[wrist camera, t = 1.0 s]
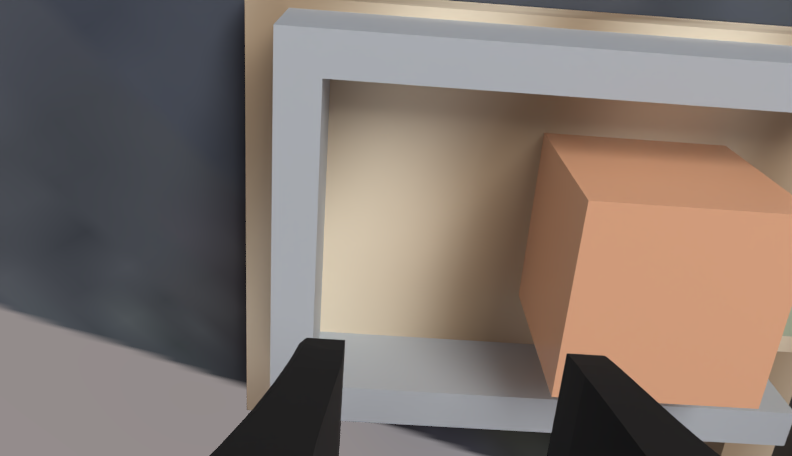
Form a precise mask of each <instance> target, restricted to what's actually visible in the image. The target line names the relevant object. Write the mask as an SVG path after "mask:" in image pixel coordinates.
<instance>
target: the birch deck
mask: <svg viewBox="0 0 792 456" xmlns="http://www.w3.org/2000/svg"><path fill="white" fill-rule="evenodd" d="M288 8H300V9H313V10H326V11H340V12H353V13H366V14H379V15H392V16H406V17H419V18H432V19H445V20H458V21H472V22H485V23H498V24H511V25H524V26H538V27H551V28H564V29H577V30H590V31H604V32H617V33H630V34H643V35H656V36H670V37H683V38H696V39H709V40H722V41H736V42H749V43H762V44H775V45H788V46H792V27H787V26H774V25H761V24H748V23H734V22H721V21H708V20H695V19H682V18H669V17H656V16H643V15H630V14H617V13H604V12H591V11H578V10H565V9H552V8H539V7H526V6H513V5H500V4H487V3H474V2H461V1H448V0H245V141H246V336H247V410H252V409H253V408H254V407H255V406H256V404H257V403H258V402H259V401H260V399H261V398H262V397H263V396H264V394H265V393H266V392H267V391H268V389H269V388H270V326H271V222H272V117H273V24H274V23H275V22H276V21H277V20H278V19H279V18H280V17H281V16H282V15H283V14H284V13H285V11H286V10H287V9H288ZM544 133H553V134H568V135H582V136H596V137H610V138H624V139H638V140H652V141H667V142H681V143H695V144H709V145H723V146H727V147H728V148H729V149H731V150H732V151H733V152H735V153H736V154H737V155H739V156H740V157H741V158H743V159H744V160H746V161H747V162H748V163H750V164H751V165H752V166H754V167H755V168H756V169H758V170H759V171H760V172H762V173H763V174H764V175H766V176H767V177H768V178H770V179H771V180H773V181H774V182H775V183H777V184H778V185H779V186H781V187H782V188H783V189H785V190H786V191H787V192H789V193H790V194H791V195H792V113H790V112H776V111H762V110H748V109H734V108H721V107H707V106H693V105H679V104H666V103H652V102H638V101H624V100H610V99H597V98H583V97H569V96H555V95H541V94H528V93H514V92H500V91H486V90H472V89H459V88H445V87H431V86H417V85H403V84H390V83H376V82H362V81H348V80H335V79H330V97H329V122H328V147H327V171H326V196H325V221H324V246H323V271H322V296H321V321H320V332H337V333H353V334H370V335H386V336H403V337H420V338H436V339H453V340H469V341H486V342H502V343H519V344H534V341H533V338H532V335H531V332H530V329H529V326H528V323H527V320H526V317H525V314H524V310H523V307H522V304H521V301H520V298H519V289H520V283H521V277H522V270H523V264H524V258H525V251H526V245H527V239H528V232H529V226H530V220H531V213H532V207H533V201H534V194H535V188H536V182H537V175H538V169H539V163H540V156H541V150H542V144H543V137H544ZM768 379H769V381H770V382H771V383H772V384H773V386H774V387H775V388H776V390H777V391H778V392H779V393H780V395H781V396H782V397H783V398H784V400H785V401H786V402H787V404H788V405H789V406H790V407H791V409H792V307H791V310H790V313H789V317H788V320H787V323H786V326H785V329H784V332H783V335H782V338H781V341H780V344H779V347H778V351H777V354H776V357H775V360H774V363H773V366H772V369H771V372H770V375H769V378H768ZM703 442H704V443H705V444H707V445H708V446H709V447H710V448H711V449H713V450H714V451H715V452H716V453H718V454H719V455H720V456H792V425H791V428H790V431H789V434H788V436H787V439H786V442H785V445H784V446H777V445H759V444H742V443H724V442H706V441H703Z"/></svg>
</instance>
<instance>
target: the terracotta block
mask: <svg viewBox="0 0 792 456" xmlns="http://www.w3.org/2000/svg"><path fill="white" fill-rule="evenodd" d="M519 298H520V301H521V304H522V307H523V310H524V314H525V317H526V320H527V323H528V326H529V329H530V332H531V335H532V338H533V341H534V345H535V348H536V351H537V354H538V357H539V360H540V363H541V366H542V369H543V373H544V376H545V379H546V382H547V385H548V388H549V391H550V394H551V397H558V396H559V391H560V386H561V381H562V376H563V370H564V365H565V360H566V355H567V353H569V354H586V355H603V356H606V357H607V358H609V359H610V360H611V361H612V362H613V363H615V364H616V365H617V366H618V367H619V368H620V369H622V370H623V371H624V372H625V373H626V374H627V375H628V376H629V377H630V378H632V379H633V380H634V381H635V382H636V383H637V384H638V385H639V386H640V387H641V388H643V389H644V390H645V391H646V392H647V393H648V394H649V395H650V396H651V397H652V398H654V399H655V400H656V401H657V402H658V403H664V404H681V405H699V406H716V407H733V408H750V409H759V406H760V403H761V400H762V397H763V394H764V391H765V388H766V384H767V381H768V378H769V375H770V372H771V369H772V366H773V363H774V360H775V357H776V354H777V351H778V347H779V344H780V341H781V338H782V335H783V332H784V329H785V326H786V323H787V320H788V317H789V313H790V310H791V307H792V195H791V194H790V193H789V192H787V191H786V190H785V189H783V188H782V187H781V186H779V185H778V184H777V183H775V182H774V181H773V180H771V179H770V178H768V177H767V176H766V175H764V174H763V173H762V172H760V171H759V170H758V169H756V168H755V167H754V166H752V165H751V164H750V163H748V162H747V161H746V160H744V159H743V158H741V157H740V156H739V155H737V154H736V153H735V152H733V151H732V150H731V149H729V148H728V147H727V146H723V145H709V144H695V143H681V142H667V141H652V140H638V139H624V138H610V137H596V136H582V135H568V134H553V133H544V137H543V144H542V150H541V156H540V163H539V169H538V175H537V182H536V188H535V194H534V201H533V207H532V213H531V220H530V226H529V232H528V239H527V245H526V251H525V258H524V264H523V270H522V277H521V283H520V289H519Z"/></svg>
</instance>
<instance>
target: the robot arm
mask: <svg viewBox="0 0 792 456" xmlns="http://www.w3.org/2000/svg"><path fill="white" fill-rule="evenodd" d="M344 354H345V340H336V339H320V338H306V339H304V340H303V341H302V342H300V343H299V345H298V347H297V348H296V350H295V352H294V354H293V355H292V357H291V359H290V360H289V362H288V363H287V365H286V366H285V368H284V369H283V371H282V372H281V373H280V375H279V376H278V377H277V379H276V380H275V382H274V383H273V384H272V386H271V387H270V388H269V389H268V391H267V392H266V393H265V394H264V396H263V397H262V398H261V399H260V401H259V402H258V403H257V404H256V406H255V407H254V408H253V409H252V411H251V412H250V413H249V414H248V415H247V417H246V418H245V419H244V420H243V421H242V422H241V423H240V424H239V425H238V426H237V427H236V429H235V430H234V431H233V432H232V433H231V434H230V435H229V436H228V437H227V438H226V439H225V440H224V441H223V443H222V444H221V445H220V446H219V447H218V448H217V449H216V450H215V451H214V452H213V453H212V454H211V455H210V456H339V444H340V426H341V408H342V390H343V372H344ZM547 456H720V455H719V454H718V453H716V452H715V451H714V450H713V449H711V448H710V447H709V446H708V445H707V444H705V443H704V442H703V441H702V440H700V439H699V438H698V437H697V436H696V435H695V434H693V433H692V432H691V431H690V430H689V429H687V428H686V427H685V426H684V425H683V424H682V423H681V422H679V421H678V420H677V419H676V418H675V417H674V416H673V415H671V414H670V413H669V412H668V411H667V410H666V409H665V408H664V407H662V406H661V405H660V404H659V403H658V402H657V401H656V400H655V399H654V398H652V397H651V396H650V395H649V394H648V393H647V392H646V391H645V390H644V389H643V388H641V387H640V386H639V385H638V384H637V383H636V382H635V381H634V380H633V379H632V378H630V377H629V376H628V375H627V374H626V373H625V372H624V371H623V370H622V369H620V368H619V367H618V366H617V365H616V364H615V363H613V362H612V361H611V360H610V359H609V358H607V357H606V356H603V355H586V354H569V353H567V355H566V360H565V365H564V370H563V376H562V381H561V386H560V391H559V396H558V401H557V407H556V412H555V417H554V422H553V427H552V432H551V437H550V443H549V448H548V453H547Z"/></svg>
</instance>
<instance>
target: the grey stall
mask: <svg viewBox="0 0 792 456" xmlns="http://www.w3.org/2000/svg"><path fill="white" fill-rule="evenodd" d="M330 79H335V80H348V81H362V82H376V83H390V84H403V85H417V86H431V87H445V88H459V89H472V90H486V91H500V92H514V93H528V94H541V95H555V96H569V97H583V98H597V99H610V100H624V101H638V102H652V103H666V104H679V105H693V106H707V107H721V108H734V109H748V110H762V111H776V112H790V113H792V46H788V45H775V44H762V43H749V42H736V41H722V40H709V39H696V38H683V37H670V36H656V35H643V34H630V33H617V32H604V31H590V30H577V29H564V28H551V27H538V26H524V25H511V24H498V23H485V22H472V21H458V20H445V19H432V18H419V17H406V16H392V15H379V14H366V13H353V12H340V11H326V10H313V9H300V8H288V9H287V10H286V11H285V13H284V14H283V15H282V16H281V17H280V18H279V19H278V20H277V21H276V22H275V23H274V24H273V117H272V222H271V326H270V387H271V386H272V384H273V383H274V382H275V380H276V379H277V377H278V376H279V375H280V373H281V372H282V371H283V369H284V368H285V366H286V365H287V363H288V362H289V360H290V359H291V357H292V355H293V354H294V352H295V350H296V348H297V347H298V345H299V343H300V342H302V341H303V340H304V339H306V338H320V339H336V340H345V354H344V372H343V390H342V408H341V421H352V422H368V423H386V424H404V425H422V426H440V427H457V428H475V429H493V430H511V431H528V432H546V433H551V432H552V427H553V422H554V417H555V412H556V407H557V401H558V397H551V394H550V391H549V388H548V385H547V382H546V379H545V376H544V373H543V369H542V366H541V363H540V360H539V357H538V354H537V351H536V348H535V345H534V344H519V343H502V342H486V341H469V340H453V339H436V338H420V337H403V336H386V335H370V334H353V333H337V332H320V321H321V296H322V271H323V246H324V221H325V196H326V171H327V147H328V122H329V97H330ZM659 404H660V405H661V406H662V407H664V408H665V409H666V410H667V411H668V412H669V413H670V414H671V415H673V416H674V417H675V418H676V419H677V420H678V421H679V422H681V423H682V424H683V425H684V426H685V427H686V428H687V429H689V430H690V431H691V432H692V433H693V434H695V435H696V436H697V437H698V438H699V439H700V440H702V441H706V442H724V443H742V444H759V445H777V446H784V445H785V442H786V439H787V436H788V434H789V431H790V428H791V425H792V409H791V407H790V406H789V405H788V404H787V402H786V401H785V400H784V398H783V397H782V396H781V395H780V393H779V392H778V391H777V390H776V388H775V387H774V386H773V384H772V383H771V382H770V381H769V379H768V381H767V384H766V388H765V391H764V394H763V397H762V400H761V403H760V406H759V409H750V408H733V407H716V406H699V405H681V404H664V403H659Z"/></svg>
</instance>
